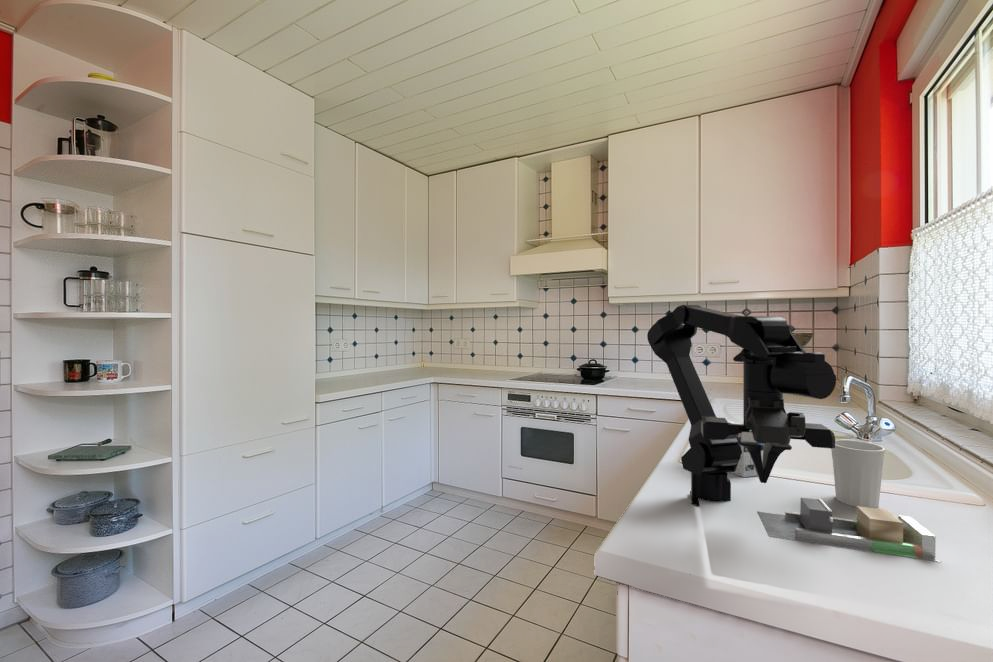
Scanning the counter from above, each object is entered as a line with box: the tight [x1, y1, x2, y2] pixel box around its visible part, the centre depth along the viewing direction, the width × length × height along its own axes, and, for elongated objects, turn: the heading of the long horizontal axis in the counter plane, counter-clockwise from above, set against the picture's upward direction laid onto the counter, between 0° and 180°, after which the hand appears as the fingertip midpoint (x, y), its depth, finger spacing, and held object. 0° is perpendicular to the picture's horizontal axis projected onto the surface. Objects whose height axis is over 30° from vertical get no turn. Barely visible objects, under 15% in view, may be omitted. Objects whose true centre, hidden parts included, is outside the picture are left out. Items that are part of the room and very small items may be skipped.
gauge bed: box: [757, 510, 942, 563], centre depth 70 cm, size 21×10×2 cm, turn 69°
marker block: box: [856, 506, 903, 543], centre depth 68 cm, size 4×5×4 cm
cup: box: [830, 439, 886, 509], centre depth 83 cm, size 8×8×12 cm
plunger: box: [799, 497, 833, 533], centre depth 71 cm, size 3×6×4 cm, turn 159°
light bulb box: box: [727, 420, 764, 478], centre depth 105 cm, size 11×7×11 cm, turn 17°
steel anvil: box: [897, 514, 937, 557], centre depth 67 cm, size 2×7×3 cm, turn 159°
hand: (762, 482), depth 74 cm, fingers closed
